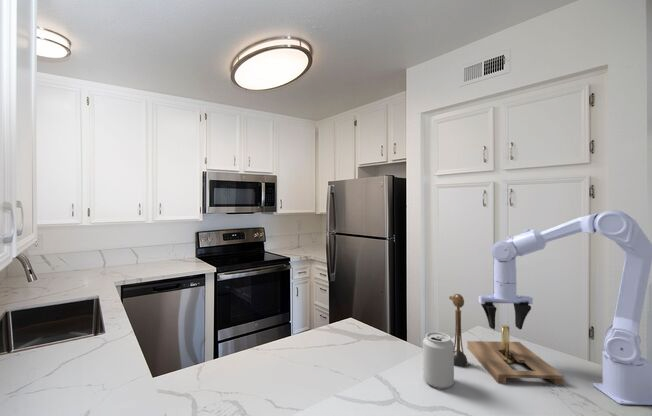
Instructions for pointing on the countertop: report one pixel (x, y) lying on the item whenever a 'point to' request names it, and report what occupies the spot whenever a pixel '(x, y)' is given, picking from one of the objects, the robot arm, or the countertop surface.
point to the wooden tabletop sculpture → (458, 332)
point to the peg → (506, 343)
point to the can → (438, 360)
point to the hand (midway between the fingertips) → (505, 327)
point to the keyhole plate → (497, 363)
